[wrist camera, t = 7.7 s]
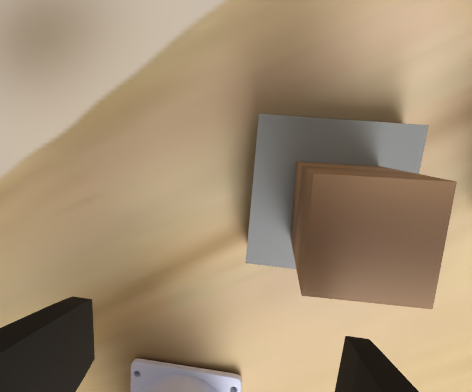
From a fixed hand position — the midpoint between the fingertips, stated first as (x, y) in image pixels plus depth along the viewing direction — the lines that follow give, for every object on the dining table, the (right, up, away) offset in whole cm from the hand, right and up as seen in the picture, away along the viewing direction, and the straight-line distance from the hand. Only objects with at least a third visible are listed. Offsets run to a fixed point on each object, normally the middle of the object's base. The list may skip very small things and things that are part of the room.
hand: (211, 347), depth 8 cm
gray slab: (+6, +5, +10) cm, 12 cm away
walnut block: (+6, +4, +7) cm, 10 cm away
